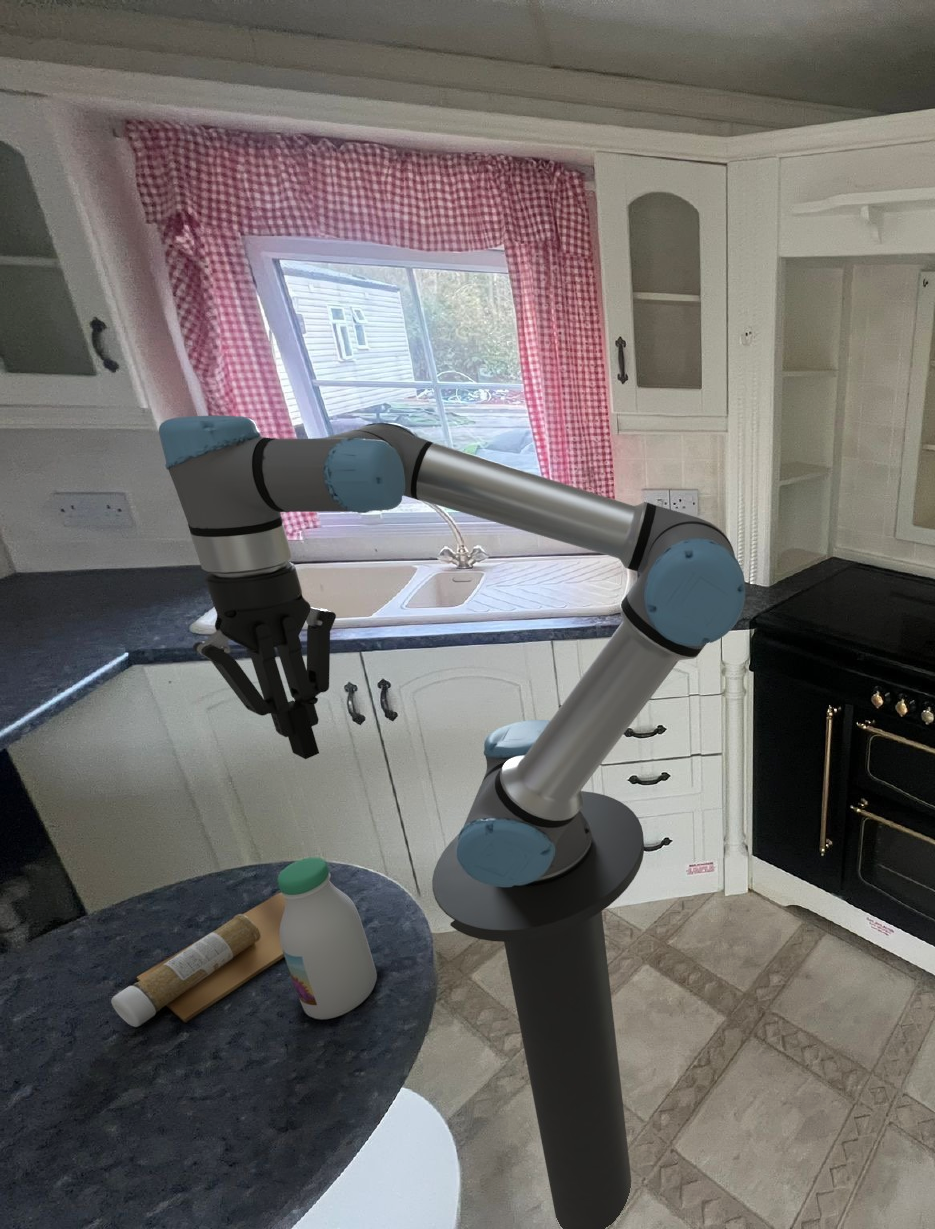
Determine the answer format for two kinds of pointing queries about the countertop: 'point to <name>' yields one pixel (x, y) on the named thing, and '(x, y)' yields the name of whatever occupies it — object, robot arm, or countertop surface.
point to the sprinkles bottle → (184, 970)
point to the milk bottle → (323, 941)
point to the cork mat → (234, 962)
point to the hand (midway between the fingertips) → (306, 752)
